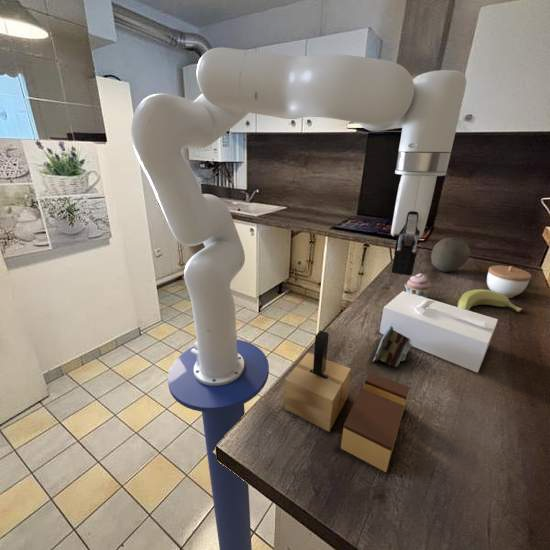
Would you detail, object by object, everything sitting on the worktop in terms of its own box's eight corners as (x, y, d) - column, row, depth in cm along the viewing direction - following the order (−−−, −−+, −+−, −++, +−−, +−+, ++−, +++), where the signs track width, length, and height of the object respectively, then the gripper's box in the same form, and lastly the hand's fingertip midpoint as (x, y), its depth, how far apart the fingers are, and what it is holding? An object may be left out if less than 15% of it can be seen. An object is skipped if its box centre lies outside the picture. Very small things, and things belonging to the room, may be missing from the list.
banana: (457, 280, 104) (521, 293, 99) (451, 291, 107) (512, 305, 103) (464, 305, 93) (535, 322, 89) (456, 317, 97) (524, 334, 93)
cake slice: (361, 402, 62) (365, 380, 60) (365, 393, 65) (369, 371, 62) (401, 419, 58) (406, 396, 56) (404, 409, 61) (409, 387, 58)
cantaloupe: (449, 278, 122) (458, 244, 117) (421, 267, 134) (428, 236, 128) (471, 273, 128) (480, 240, 122) (442, 263, 140) (449, 232, 134)
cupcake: (397, 297, 107) (402, 272, 103) (410, 290, 113) (415, 266, 109) (422, 307, 101) (428, 280, 97) (434, 299, 106) (441, 273, 102)
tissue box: (398, 314, 96) (404, 284, 92) (488, 346, 80) (500, 311, 76) (379, 332, 86) (384, 300, 82) (477, 372, 71) (491, 335, 66)
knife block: (284, 409, 60) (285, 379, 57) (306, 379, 68) (307, 352, 65) (329, 432, 56) (332, 400, 52) (347, 397, 63) (351, 368, 60)
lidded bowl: (474, 288, 114) (482, 262, 110) (498, 284, 117) (507, 259, 113) (505, 303, 103) (516, 274, 99) (531, 298, 106) (542, 271, 102)
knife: (308, 403, 62) (312, 334, 55) (312, 397, 63) (317, 329, 57) (321, 410, 60) (327, 339, 53) (325, 402, 62) (331, 334, 55)
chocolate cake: (400, 377, 70) (422, 333, 72) (373, 361, 72) (394, 319, 74) (393, 377, 78) (412, 338, 81) (368, 362, 81) (388, 325, 83)
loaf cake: (340, 448, 52) (343, 424, 50) (358, 410, 60) (361, 388, 58) (386, 472, 49) (391, 448, 46) (398, 428, 56) (404, 405, 54)
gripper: (398, 162, 55) (384, 248, 62) (394, 166, 41) (376, 278, 47) (442, 163, 53) (422, 253, 59) (455, 168, 38) (427, 286, 45)
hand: (402, 264), depth 53 cm, fingers open, 9 cm apart
